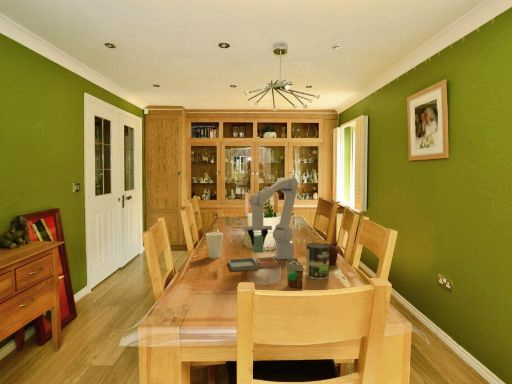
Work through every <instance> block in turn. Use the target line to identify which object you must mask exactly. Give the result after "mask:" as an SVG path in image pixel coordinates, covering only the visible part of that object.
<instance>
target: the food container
mask: <svg viewBox="0 0 512 384" xmlns="http://www.w3.org/2000/svg"><path fill="white" fill-rule="evenodd" d="M284 267H285V268H286V276H287V279H286V280H287V286H288V287H289V288H291V289H297V290H303V283H304V282H303V281H304V280H303V278H304V276H303V275H304V265H302V264H301V263H300V262H299V261H298V257H294V258H292V259H286V261H285V266H284Z"/></svg>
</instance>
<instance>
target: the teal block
mask: <svg viewBox="0 0 512 384" xmlns="http://www.w3.org/2000/svg"><path fill="white" fill-rule="evenodd" d="M251 246H252V247H251V248H252V249H251V250H252V252H253V254H255V253H256V254H257V253H264V245H263V236H262V235H261V234H254V245H252V244H251Z"/></svg>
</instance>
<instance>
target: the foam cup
mask: <svg viewBox="0 0 512 384" xmlns="http://www.w3.org/2000/svg"><path fill="white" fill-rule="evenodd" d="M205 239H206V244H207V246H206V247H207V252H208V257H209V259H219V258H221V256H222V250H223V249H222V248H223V241H224V240H223V239H224V233H223V232H219V231H211V232H206V234H205Z"/></svg>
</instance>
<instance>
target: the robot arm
mask: <svg viewBox="0 0 512 384" xmlns="http://www.w3.org/2000/svg"><path fill="white" fill-rule="evenodd" d="M298 186H299V182H298V180H297V178H296V177H284V176H283V177H282V176H281V177H279V178H278V179H277V180H276V181H275V182H274V183H273V184H272V185H271V186H264V187H263V188H262V189H261V190H260V191H259V190H258V191H257V193H253V194H251V195H250V198H249V199H248V201H249V204H250V208H251V225H250V226H249V225H248V226H243V227H242V231H243V232H247V233H248V236H249V239H250V243H251V246H252V245H254V235H255V232H254V231H260V235H262V236H263V246H264V245H265V239H266V238H267V235H268V233H269V231H273V232H272V238H273V239H274V241H275V255H274V254H273V258H274V259H275V258H276V259H275V260H277V261H278V260H288V259H292V258H295V257H294V256H295V253H294V252H295V249H294V248H295V246H294V242H293V241H292V239H293V231H294V229H293V227H292V226H291V225H290V224H291V219H292V215H293V210H294V205H295V200H296V195H297V191H298V188H299V187H298ZM279 190H280V191H281V192H282V193H283V194H284V195H285V197H284V202H283V206H282V209H281V210H282V211H281V216H280V219H279V222H278V224H276V225H275V227H274V230H273V226H272V225H264V206H265V205H266V202H267V201H268V200H270V199H271V198H272V197H273V196H274V193H276V192H278V191H279Z"/></svg>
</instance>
